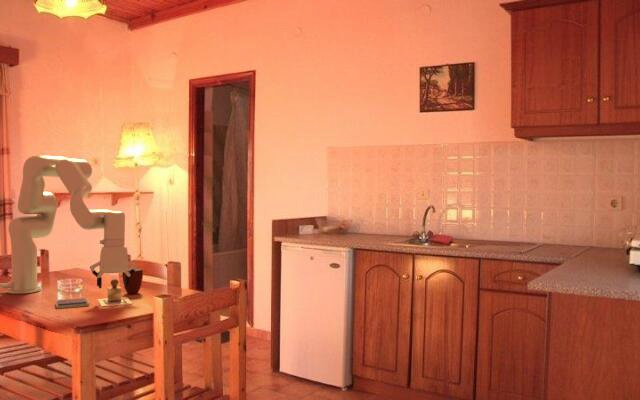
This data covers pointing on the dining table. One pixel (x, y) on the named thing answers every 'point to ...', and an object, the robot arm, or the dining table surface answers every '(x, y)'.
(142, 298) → the dining table surface
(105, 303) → the card
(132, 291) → the mug
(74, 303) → the ink pad
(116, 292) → the stamp
